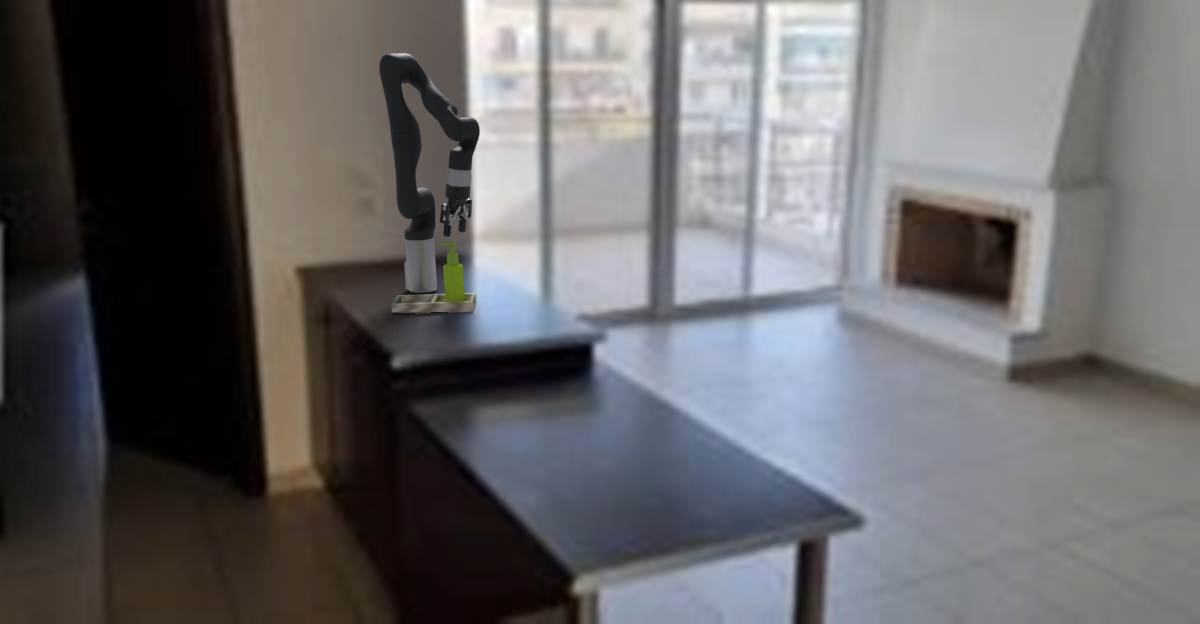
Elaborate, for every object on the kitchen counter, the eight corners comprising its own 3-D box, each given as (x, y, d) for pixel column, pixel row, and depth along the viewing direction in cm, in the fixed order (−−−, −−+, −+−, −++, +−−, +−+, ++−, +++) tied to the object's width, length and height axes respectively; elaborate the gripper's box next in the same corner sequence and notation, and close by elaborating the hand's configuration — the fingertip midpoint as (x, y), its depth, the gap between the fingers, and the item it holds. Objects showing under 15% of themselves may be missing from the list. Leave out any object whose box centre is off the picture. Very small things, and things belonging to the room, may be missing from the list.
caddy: (391, 314, 309) (391, 304, 309) (398, 304, 321) (397, 295, 320) (472, 311, 310) (472, 301, 309) (476, 302, 322) (475, 292, 321)
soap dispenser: (443, 305, 318) (439, 241, 313) (465, 304, 319) (462, 240, 314) (441, 310, 313) (437, 244, 308) (465, 309, 313) (461, 243, 308)
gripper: (460, 178, 327) (456, 228, 332) (435, 183, 314) (431, 235, 319) (481, 182, 324) (476, 233, 329) (456, 188, 311) (452, 240, 316)
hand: (454, 234), depth 324 cm, fingers open, 8 cm apart
